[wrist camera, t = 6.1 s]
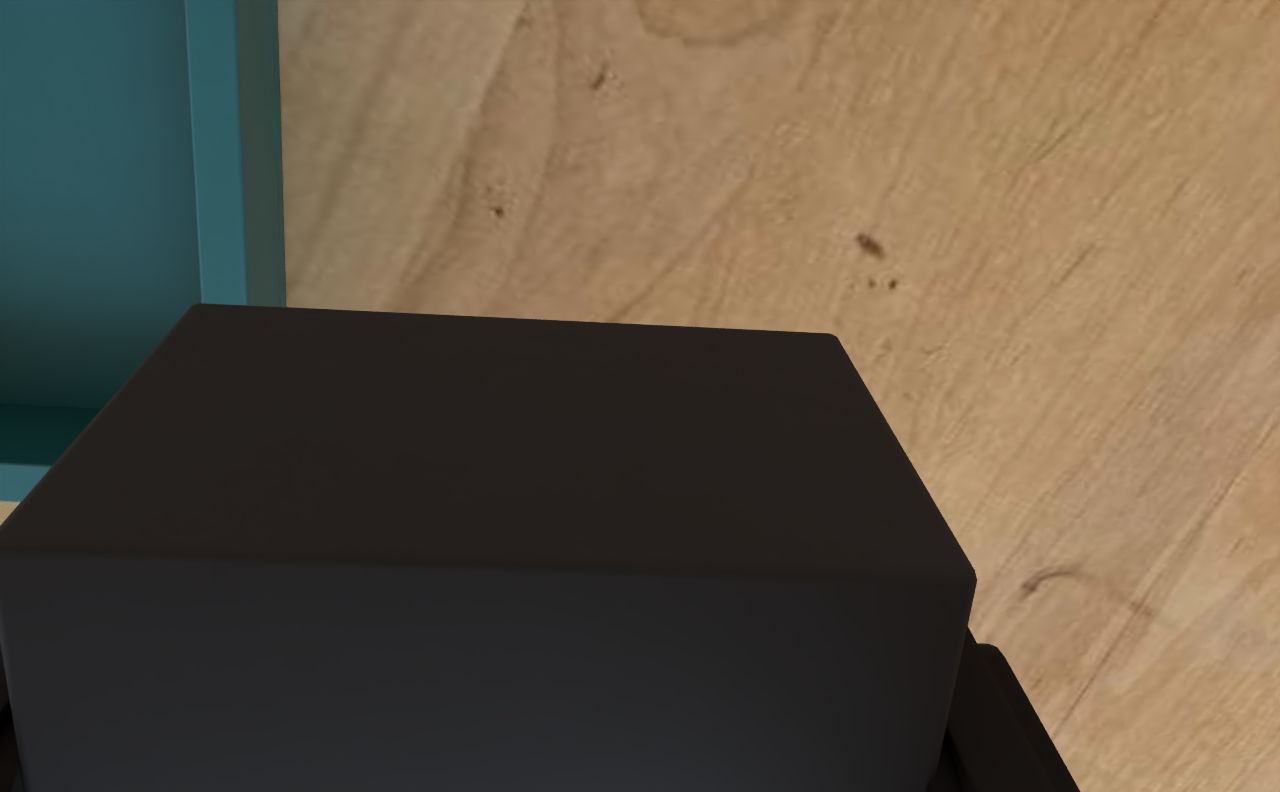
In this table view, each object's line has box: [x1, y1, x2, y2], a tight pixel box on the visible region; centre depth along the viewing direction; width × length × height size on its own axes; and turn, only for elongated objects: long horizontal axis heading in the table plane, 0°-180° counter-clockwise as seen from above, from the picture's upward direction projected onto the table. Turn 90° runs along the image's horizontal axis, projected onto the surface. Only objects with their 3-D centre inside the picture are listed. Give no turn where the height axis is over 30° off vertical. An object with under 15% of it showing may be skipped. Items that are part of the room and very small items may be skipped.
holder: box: [0, 0, 286, 502], centre depth 20 cm, size 15×9×3 cm, turn 175°
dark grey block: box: [0, 303, 977, 792], centre depth 10 cm, size 6×6×4 cm
